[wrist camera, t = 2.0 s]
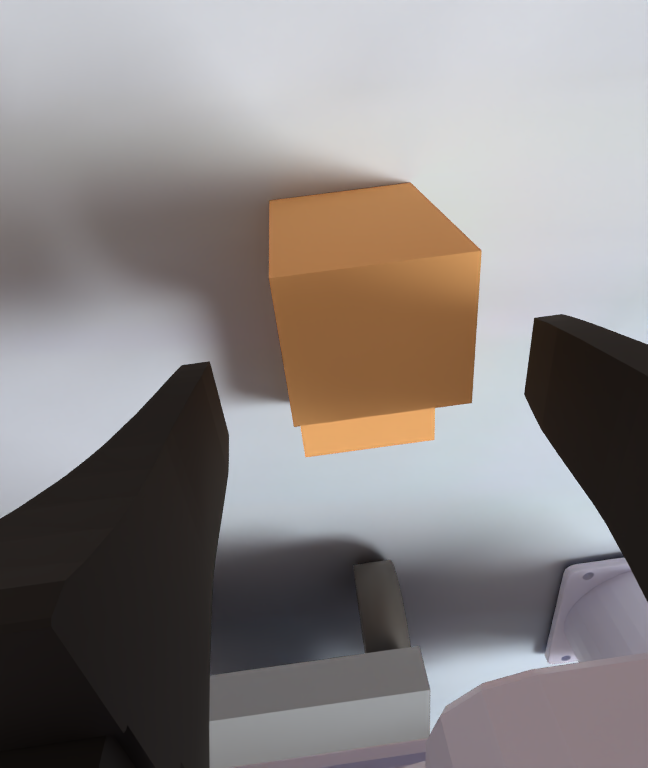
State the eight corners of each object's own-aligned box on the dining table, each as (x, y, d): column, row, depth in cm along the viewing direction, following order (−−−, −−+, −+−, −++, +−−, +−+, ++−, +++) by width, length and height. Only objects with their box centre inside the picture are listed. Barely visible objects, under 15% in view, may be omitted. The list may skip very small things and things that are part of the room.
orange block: (409, 181, 15) (481, 250, 10) (412, 386, 19) (464, 512, 14) (269, 199, 15) (268, 278, 10) (300, 401, 19) (312, 533, 14)
